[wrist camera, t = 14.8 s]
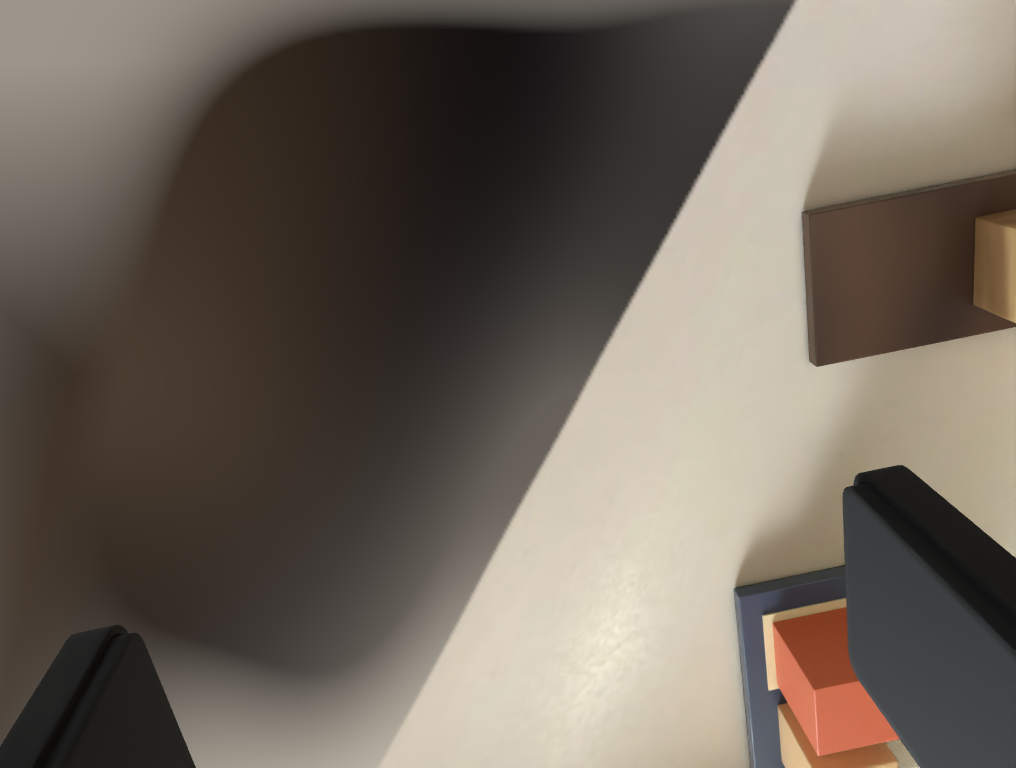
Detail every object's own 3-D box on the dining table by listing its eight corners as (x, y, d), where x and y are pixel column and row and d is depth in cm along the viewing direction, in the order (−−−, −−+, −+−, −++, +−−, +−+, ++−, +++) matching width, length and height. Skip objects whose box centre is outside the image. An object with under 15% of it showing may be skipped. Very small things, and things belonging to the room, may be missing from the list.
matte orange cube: (771, 622, 43) (814, 689, 38) (848, 606, 43) (899, 671, 38) (776, 684, 44) (817, 756, 40) (850, 668, 44) (900, 739, 40)
